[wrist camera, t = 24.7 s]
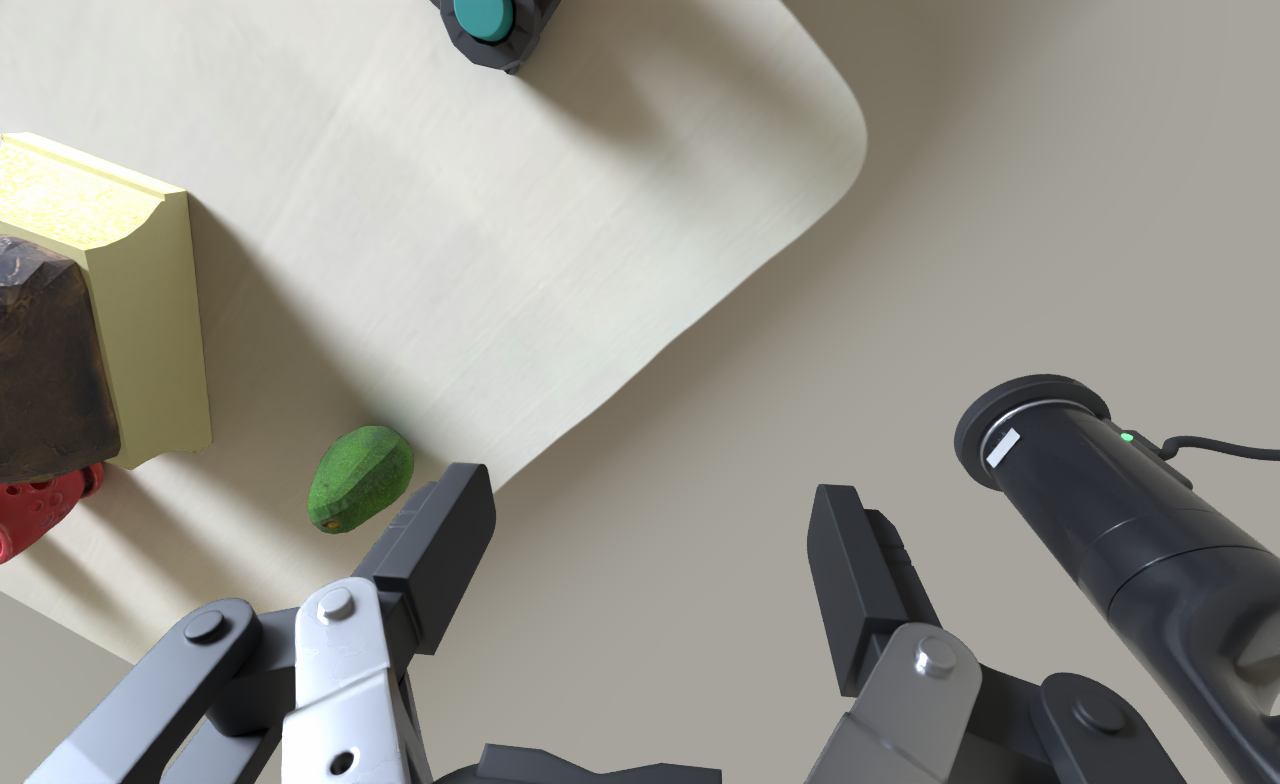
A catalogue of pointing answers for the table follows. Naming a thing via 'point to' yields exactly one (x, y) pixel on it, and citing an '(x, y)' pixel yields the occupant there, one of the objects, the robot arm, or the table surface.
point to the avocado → (359, 478)
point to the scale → (529, 18)
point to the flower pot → (41, 507)
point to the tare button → (485, 17)
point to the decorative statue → (94, 315)
